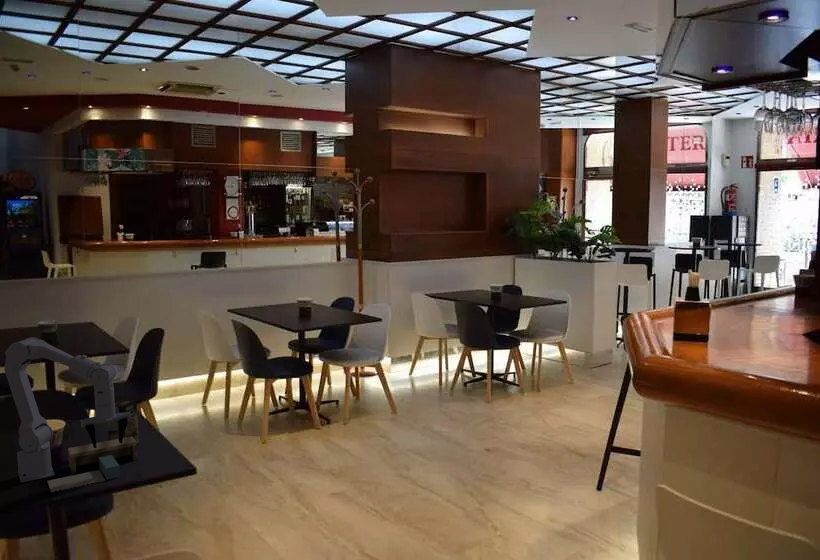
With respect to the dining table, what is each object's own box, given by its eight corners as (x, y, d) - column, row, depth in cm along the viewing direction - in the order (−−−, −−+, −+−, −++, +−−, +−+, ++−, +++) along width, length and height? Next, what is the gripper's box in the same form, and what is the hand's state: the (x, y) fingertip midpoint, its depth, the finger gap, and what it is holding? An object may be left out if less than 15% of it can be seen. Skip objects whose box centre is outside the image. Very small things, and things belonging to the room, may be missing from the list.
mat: (51, 492, 206) (51, 491, 206) (47, 482, 214) (47, 480, 214) (104, 480, 214) (104, 479, 214) (99, 471, 223) (99, 469, 223)
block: (106, 480, 215) (105, 468, 215) (99, 469, 225) (98, 457, 225) (120, 477, 217) (119, 465, 217) (112, 466, 227) (111, 454, 227)
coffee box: (124, 451, 240) (121, 406, 239) (108, 450, 242) (105, 406, 240) (140, 442, 249) (137, 399, 248) (124, 442, 251) (121, 398, 249)
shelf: (72, 473, 221) (70, 454, 221) (69, 466, 227) (67, 448, 227) (137, 459, 232) (136, 441, 232) (133, 453, 238) (131, 436, 237)
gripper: (81, 410, 211) (85, 453, 212) (131, 402, 219) (134, 443, 220) (78, 405, 217) (81, 446, 218) (127, 397, 225) (129, 437, 226)
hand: (107, 444), depth 220 cm, fingers open, 7 cm apart
